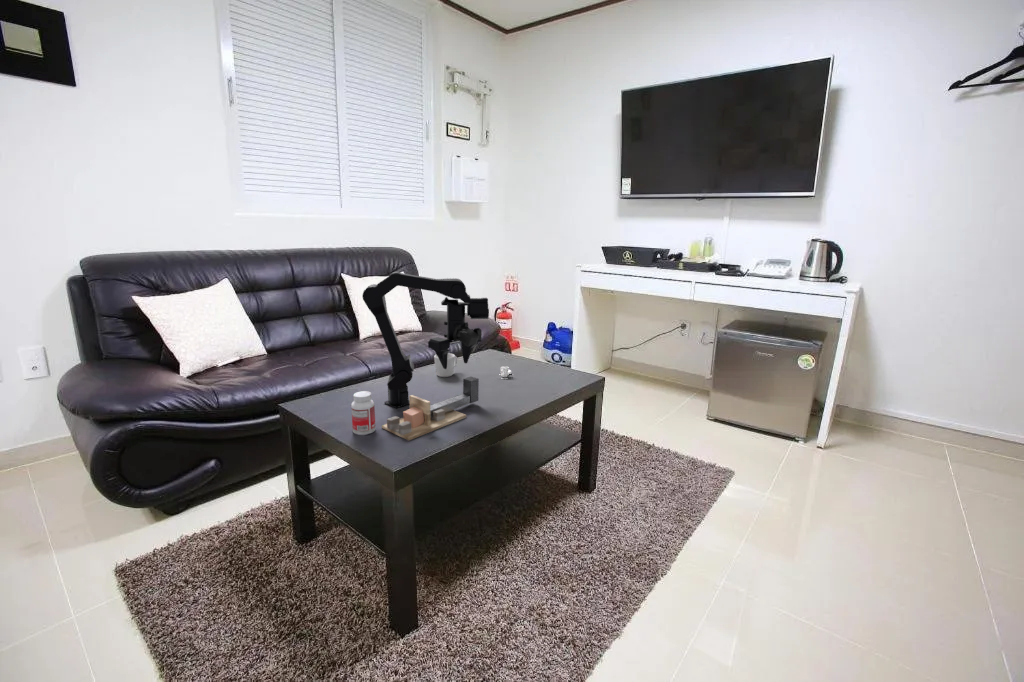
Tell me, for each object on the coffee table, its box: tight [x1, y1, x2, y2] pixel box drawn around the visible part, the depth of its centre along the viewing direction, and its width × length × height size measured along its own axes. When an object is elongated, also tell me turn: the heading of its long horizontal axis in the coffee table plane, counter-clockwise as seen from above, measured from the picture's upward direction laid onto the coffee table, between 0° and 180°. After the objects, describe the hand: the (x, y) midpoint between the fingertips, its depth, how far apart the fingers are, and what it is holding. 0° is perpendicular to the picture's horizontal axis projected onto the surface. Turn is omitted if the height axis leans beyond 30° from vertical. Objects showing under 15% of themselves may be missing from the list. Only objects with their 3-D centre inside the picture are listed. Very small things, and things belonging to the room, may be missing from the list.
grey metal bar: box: [423, 376, 480, 421], centre depth 146 cm, size 4×22×8 cm, turn 141°
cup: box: [433, 352, 459, 378], centre depth 184 cm, size 11×8×8 cm
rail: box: [381, 394, 467, 442], centre depth 139 cm, size 12×22×8 cm, turn 141°
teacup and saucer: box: [500, 365, 512, 378], centre depth 185 cm, size 9×8×4 cm
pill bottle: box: [350, 390, 376, 436], centre depth 132 cm, size 6×6×11 cm
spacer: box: [402, 407, 424, 428], centre depth 136 cm, size 4×4×4 cm
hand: (455, 365), depth 154 cm, fingers open, 9 cm apart
